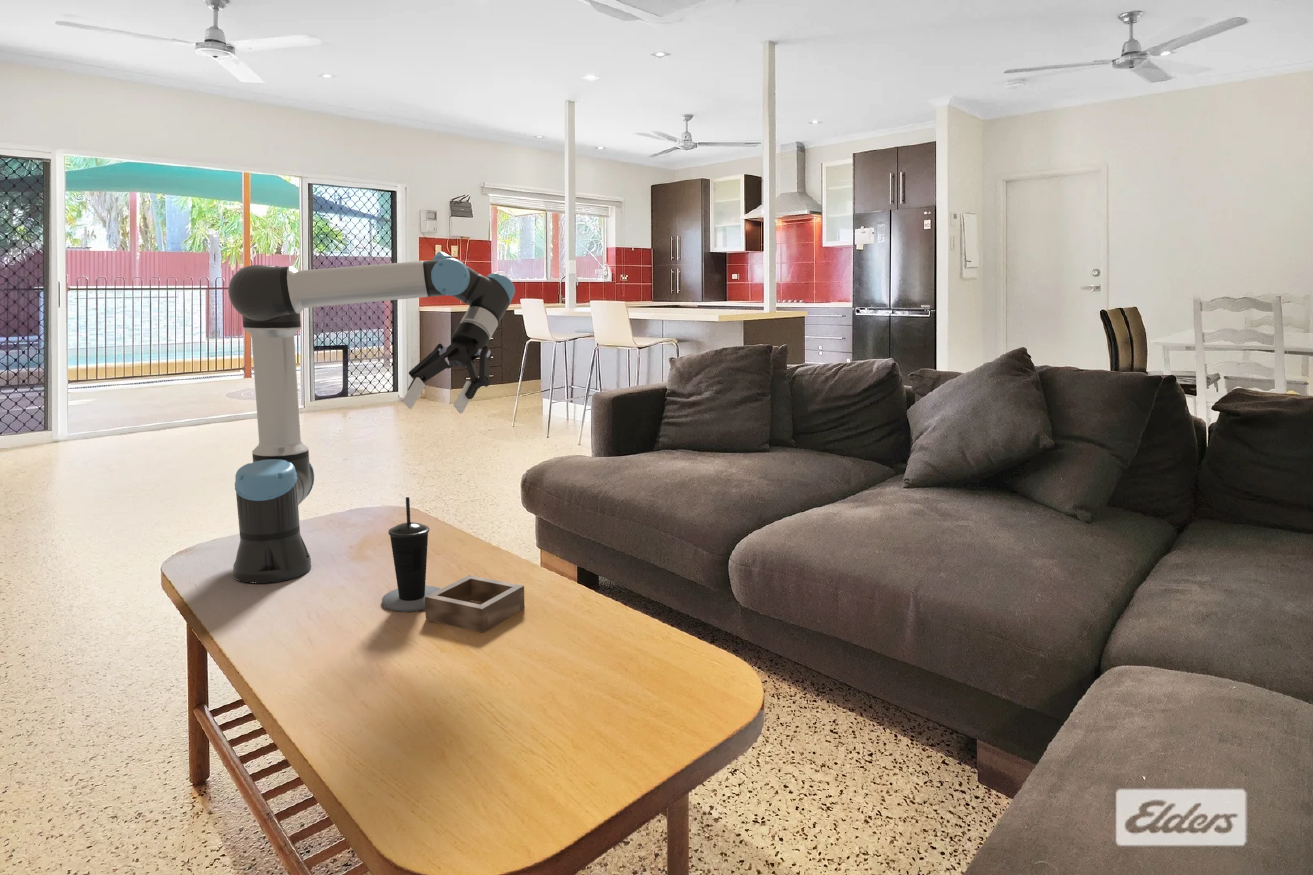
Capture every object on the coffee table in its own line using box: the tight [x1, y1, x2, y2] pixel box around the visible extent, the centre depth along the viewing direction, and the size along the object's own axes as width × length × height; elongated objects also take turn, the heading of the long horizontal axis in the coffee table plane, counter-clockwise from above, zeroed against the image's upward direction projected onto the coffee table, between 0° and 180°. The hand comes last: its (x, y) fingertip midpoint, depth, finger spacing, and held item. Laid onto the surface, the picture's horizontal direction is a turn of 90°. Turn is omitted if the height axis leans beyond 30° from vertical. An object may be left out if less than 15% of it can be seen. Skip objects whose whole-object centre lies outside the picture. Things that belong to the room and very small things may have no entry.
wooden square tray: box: [424, 574, 525, 634], centre depth 156 cm, size 13×13×4 cm
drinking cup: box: [388, 496, 431, 601], centre depth 161 cm, size 8×8×20 cm
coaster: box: [381, 585, 442, 613], centre depth 162 cm, size 12×12×1 cm
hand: (431, 407), depth 174 cm, fingers open, 13 cm apart
